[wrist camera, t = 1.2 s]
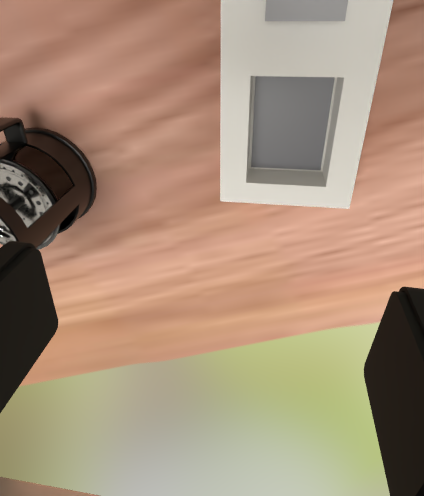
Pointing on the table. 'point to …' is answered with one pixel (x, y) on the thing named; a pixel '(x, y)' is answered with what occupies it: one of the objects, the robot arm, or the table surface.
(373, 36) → the power strip
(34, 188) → the french press
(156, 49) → the table surface
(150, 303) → the table surface
